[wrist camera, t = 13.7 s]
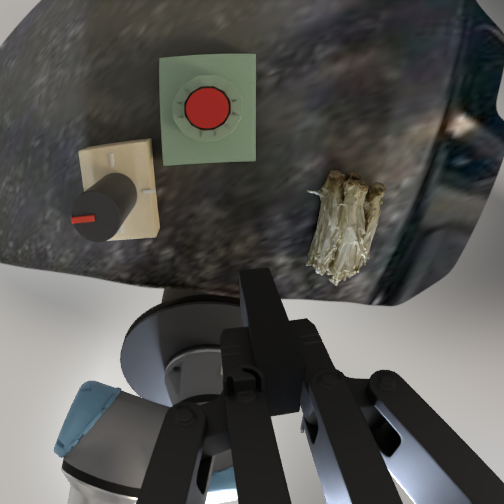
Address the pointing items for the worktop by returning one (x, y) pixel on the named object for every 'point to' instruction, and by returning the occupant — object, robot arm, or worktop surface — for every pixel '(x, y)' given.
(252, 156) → the switch base
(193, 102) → the switch button
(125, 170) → the dial panel
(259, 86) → the worktop surface
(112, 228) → the dial
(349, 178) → the mushroom
